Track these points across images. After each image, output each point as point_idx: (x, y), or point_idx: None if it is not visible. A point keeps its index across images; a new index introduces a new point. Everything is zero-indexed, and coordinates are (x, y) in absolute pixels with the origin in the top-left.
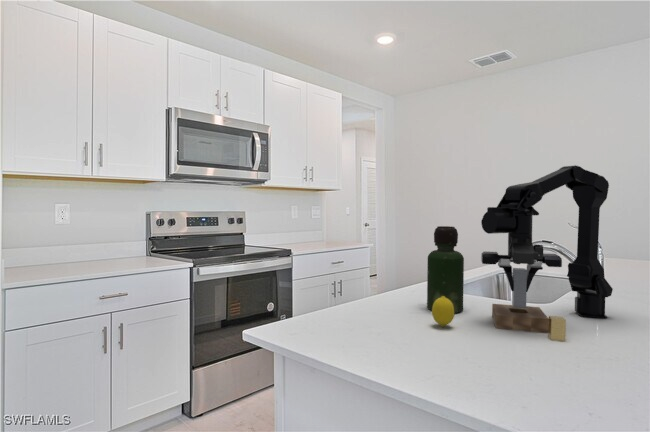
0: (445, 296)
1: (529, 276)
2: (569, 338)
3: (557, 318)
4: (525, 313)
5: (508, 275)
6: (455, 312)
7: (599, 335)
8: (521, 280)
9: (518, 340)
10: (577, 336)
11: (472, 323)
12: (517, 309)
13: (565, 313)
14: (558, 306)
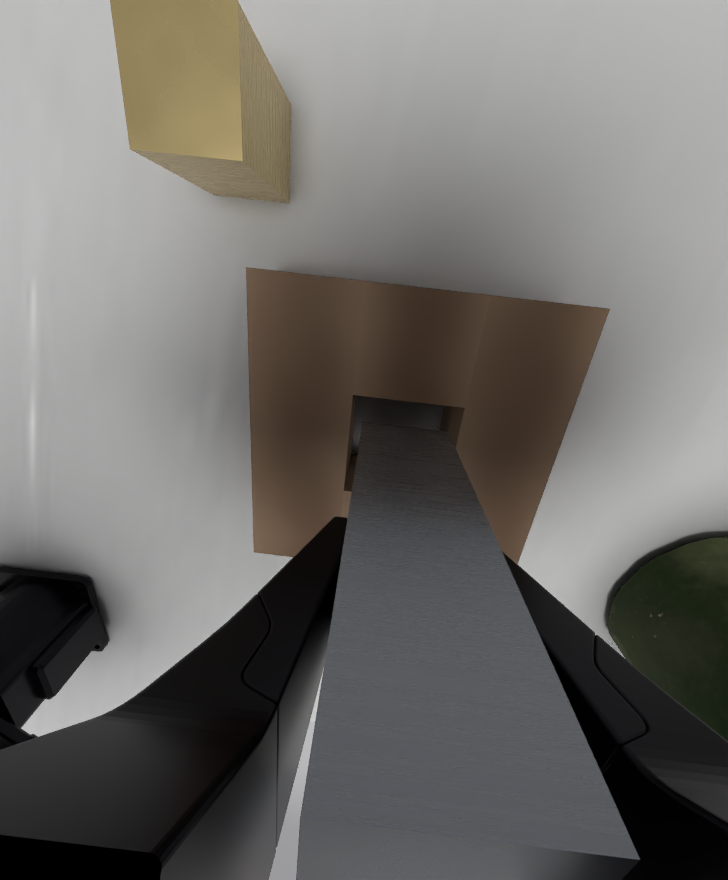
0: None
1: (274, 648)
2: (177, 180)
3: (179, 53)
4: (373, 392)
5: (647, 693)
6: (683, 545)
7: (22, 291)
8: (413, 586)
9: (514, 20)
10: (130, 239)
11: (665, 380)
12: None
13: (148, 613)
14: None
